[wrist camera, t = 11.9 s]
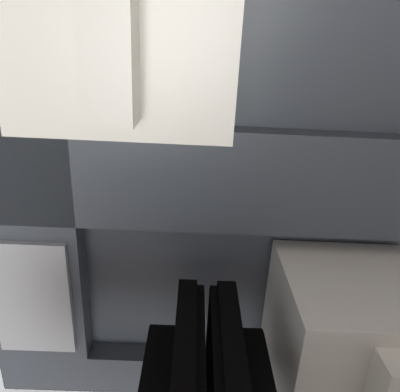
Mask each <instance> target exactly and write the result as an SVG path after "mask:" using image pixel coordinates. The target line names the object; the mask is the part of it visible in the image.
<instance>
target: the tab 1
mask: <svg viewBox="0 0 400 392" xmlns="http://www.w3.org/2000/svg"><path fill="white" fill-rule="evenodd" d="M244 2H245V0H0V128H1V135H2V136H4V137H26V138H49V139H71V140H93V141H115V142H137V143H160V144H182V145H204V146H226V147H233V136H234V124H235V112H236V100H237V87H238V75H239V63H240V51H241V38H242V26H243V14H244Z"/></svg>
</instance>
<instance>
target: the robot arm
mask: <svg viewBox="0 0 400 392" xmlns="http://www.w3.org/2000/svg"><path fill="white" fill-rule="evenodd" d="M138 392H277V390H276V385H275V381H274V376H273V371H272V367H271V362H270V358H269V353H268V349H267V344H266V339H265V335H264V331H263V329H262V328H243V325H242V319H241V312H240V305H239V299H238V292H237V285H236V281H217V285H210V289H209V303H208V318H207V332H206V346H205V293H204V285H197V280H192V279H179V285H178V297H177V309H176V320H175V325H159V324H150V326H149V330H148V336H147V341H146V347H145V353H144V358H143V364H142V370H141V376H140V381H139V387H138Z"/></svg>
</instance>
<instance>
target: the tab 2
mask: <svg viewBox="0 0 400 392" xmlns="http://www.w3.org/2000/svg"><path fill="white" fill-rule="evenodd" d="M261 328H262V329H263V331H264V335H265V339H266V344H267V349H268V353H269V358H270V362H271V367H272V371H273V376H274V381H275V385H276V390H277V392H400V245H391V244H366V243H342V242H317V241H292V240H273V243H272V251H271V258H270V265H269V272H268V280H267V287H266V294H265V302H264V309H263V316H262V324H261Z"/></svg>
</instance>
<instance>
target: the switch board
mask: <svg viewBox="0 0 400 392" xmlns="http://www.w3.org/2000/svg"><path fill="white" fill-rule="evenodd" d="M273 240H292V241H317V242H342V243H366V244H391V245H400V0H245V2H244V14H243V26H242V38H241V51H240V63H239V75H238V87H237V100H236V112H235V124H234V136H233V147H226V146H204V145H182V144H160V143H137V142H115V141H93V140H71V139H49V138H26V137H4V136H2V135H1V128H0V369H1V373H2V378H3V383H4V388H5V389H32V390H63V391H93V392H138V387H139V381H140V376H141V370H142V364H143V358H144V353H145V347H146V341H147V336H148V330H149V326H150V324H159V325H175V320H176V309H177V297H178V285H179V279H192V280H197V285H204V293H205V346H206V332H207V318H208V303H209V289H210V285H217V281H236V285H237V292H238V299H239V305H240V312H241V319H242V325H243V328H261V324H262V316H263V309H264V302H265V294H266V287H267V280H268V272H269V265H270V258H271V251H272V243H273Z"/></svg>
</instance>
